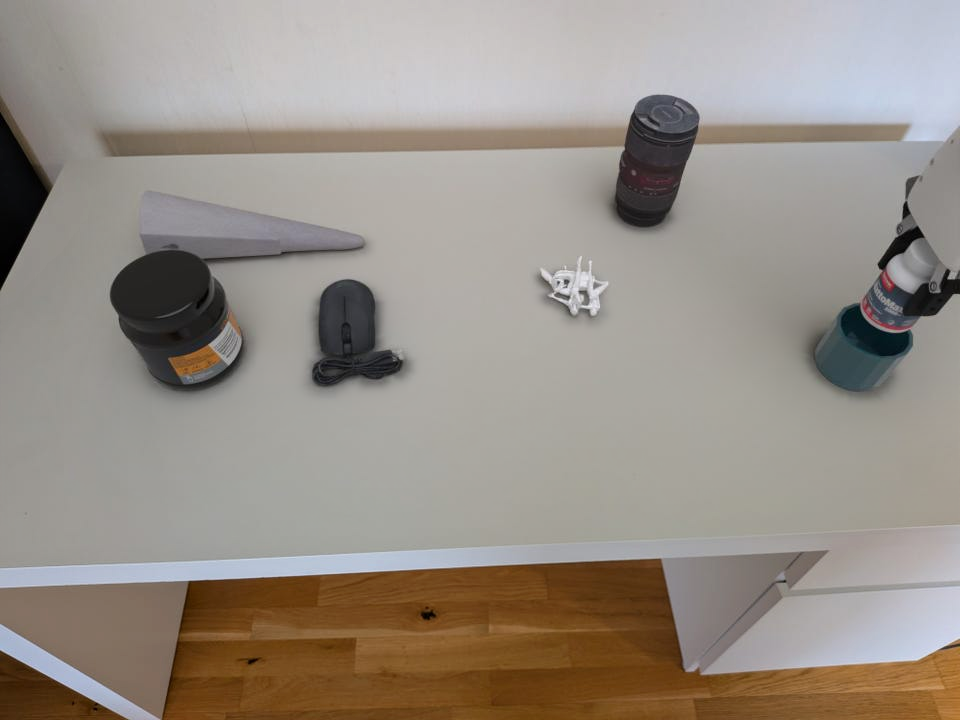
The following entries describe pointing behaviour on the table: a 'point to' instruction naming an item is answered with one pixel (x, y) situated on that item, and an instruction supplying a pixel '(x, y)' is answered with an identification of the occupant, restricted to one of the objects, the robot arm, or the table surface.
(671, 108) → the camera lens
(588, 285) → the figurine
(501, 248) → the table surface
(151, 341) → the supplement container
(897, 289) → the pill bottle
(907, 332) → the cup
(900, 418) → the table surface
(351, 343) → the computer mouse
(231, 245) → the tapered wedge
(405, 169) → the table surface
